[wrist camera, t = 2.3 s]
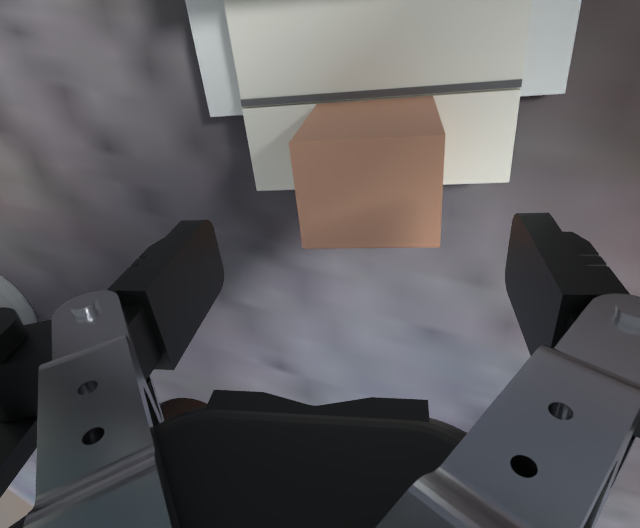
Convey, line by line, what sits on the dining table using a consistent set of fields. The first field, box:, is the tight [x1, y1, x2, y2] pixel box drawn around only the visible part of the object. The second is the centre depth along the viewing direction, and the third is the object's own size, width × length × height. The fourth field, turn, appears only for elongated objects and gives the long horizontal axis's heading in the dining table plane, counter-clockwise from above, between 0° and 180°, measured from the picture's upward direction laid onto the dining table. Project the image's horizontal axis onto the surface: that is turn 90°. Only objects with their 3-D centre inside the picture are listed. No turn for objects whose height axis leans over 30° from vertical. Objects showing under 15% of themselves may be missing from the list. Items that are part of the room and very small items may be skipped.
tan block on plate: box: [242, 88, 521, 249], centre depth 18 cm, size 12×4×7 cm, turn 96°
